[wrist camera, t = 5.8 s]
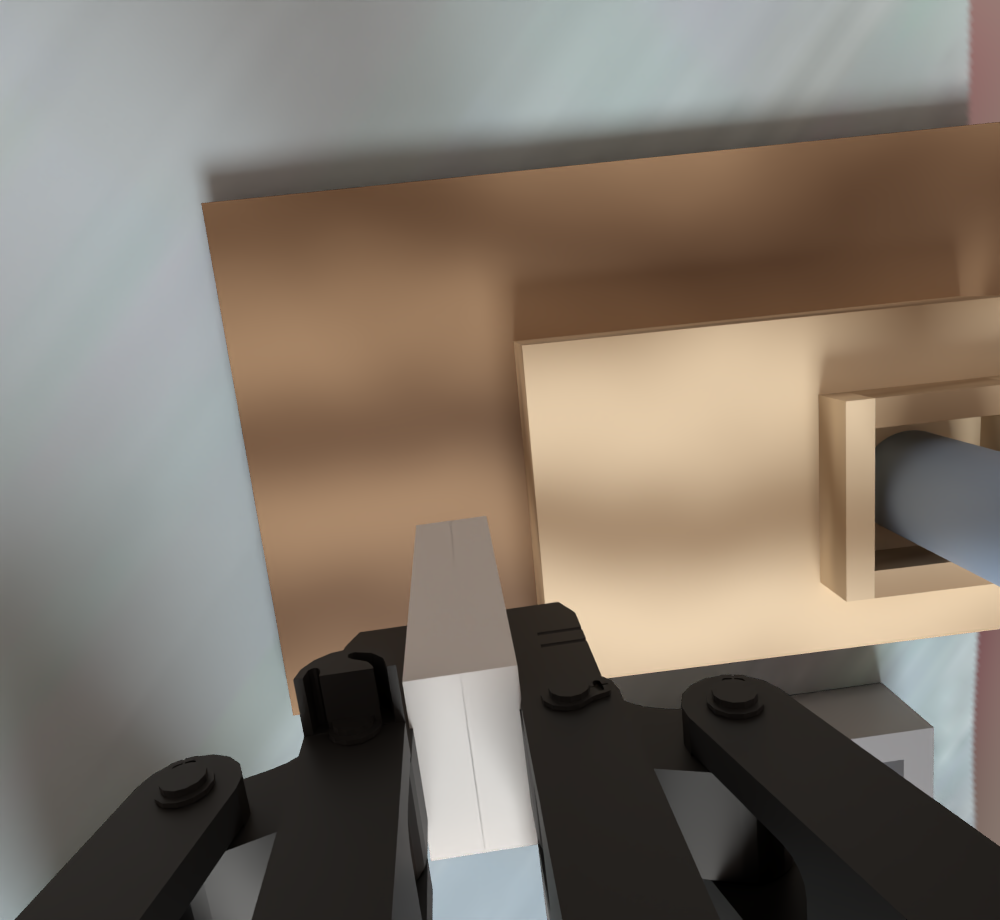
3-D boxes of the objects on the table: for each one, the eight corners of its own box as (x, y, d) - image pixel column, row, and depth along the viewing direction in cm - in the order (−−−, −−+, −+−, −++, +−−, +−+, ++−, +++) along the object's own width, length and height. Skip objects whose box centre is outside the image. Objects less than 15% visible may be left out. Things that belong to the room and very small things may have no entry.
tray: (581, 724, 27) (598, 775, 24) (881, 682, 28) (933, 727, 25) (605, 983, 29) (623, 1059, 26) (883, 940, 30) (931, 1009, 27)
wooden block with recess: (513, 341, 23) (528, 348, 19) (960, 296, 24) (1061, 294, 20) (541, 648, 25) (559, 711, 21) (952, 597, 26) (1042, 649, 22)
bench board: (213, 208, 23) (201, 203, 22) (1046, 123, 24) (1077, 113, 23) (299, 697, 26) (293, 715, 25) (1029, 598, 27) (1055, 611, 26)
